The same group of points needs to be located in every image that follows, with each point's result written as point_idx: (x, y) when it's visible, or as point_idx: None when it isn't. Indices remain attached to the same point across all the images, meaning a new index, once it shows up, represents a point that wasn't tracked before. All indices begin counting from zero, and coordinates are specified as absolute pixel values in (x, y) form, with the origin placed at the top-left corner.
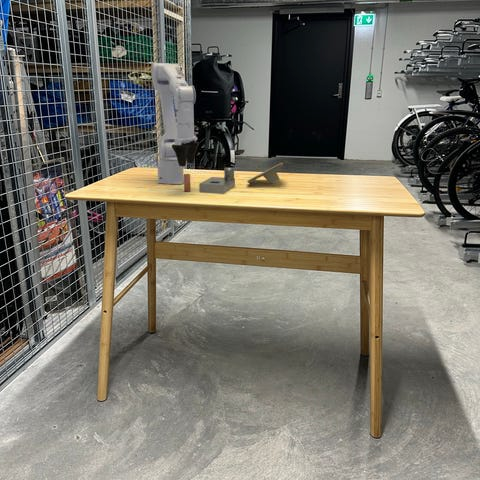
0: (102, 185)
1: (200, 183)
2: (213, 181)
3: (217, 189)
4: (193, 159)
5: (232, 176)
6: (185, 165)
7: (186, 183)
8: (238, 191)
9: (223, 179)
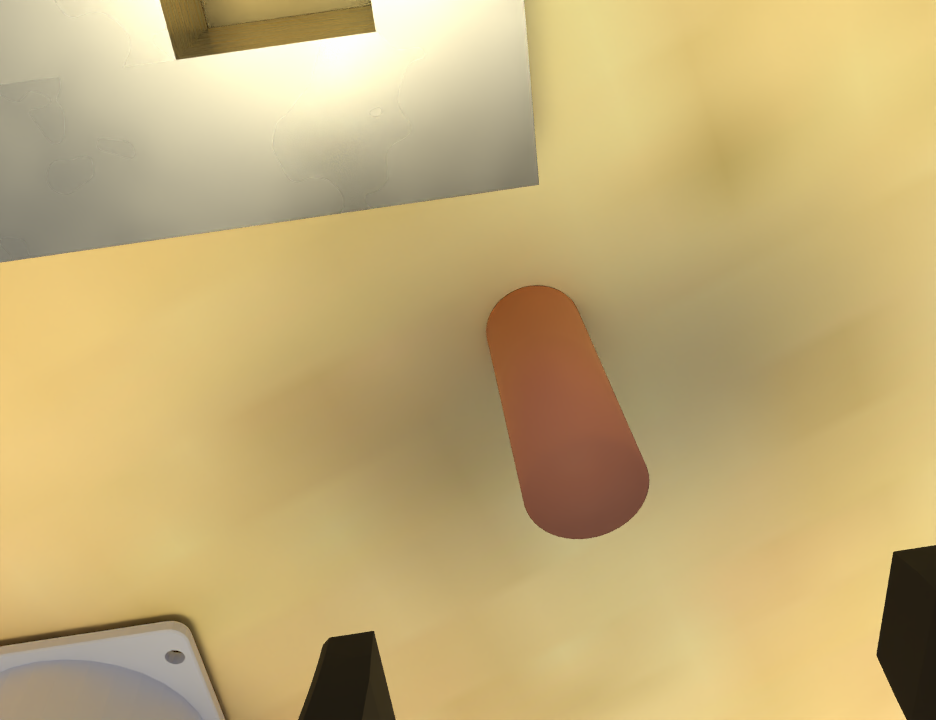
0: None
1: (517, 169)
2: (168, 29)
3: None
4: (370, 702)
5: None
6: (917, 557)
7: (609, 382)
8: None
9: None
